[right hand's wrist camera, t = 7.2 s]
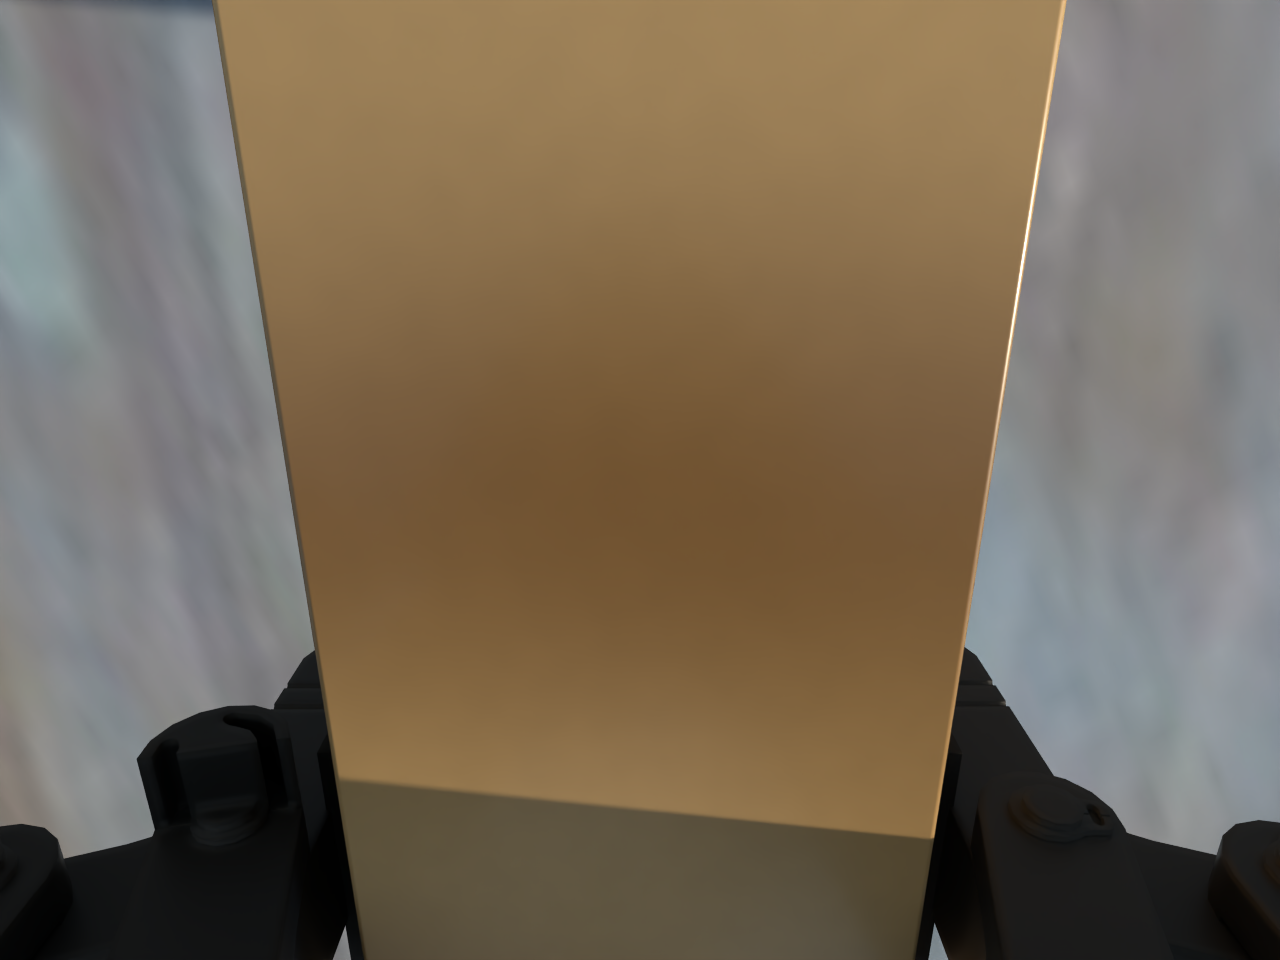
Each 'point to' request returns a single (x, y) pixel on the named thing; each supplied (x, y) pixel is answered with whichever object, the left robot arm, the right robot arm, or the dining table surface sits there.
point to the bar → (639, 445)
